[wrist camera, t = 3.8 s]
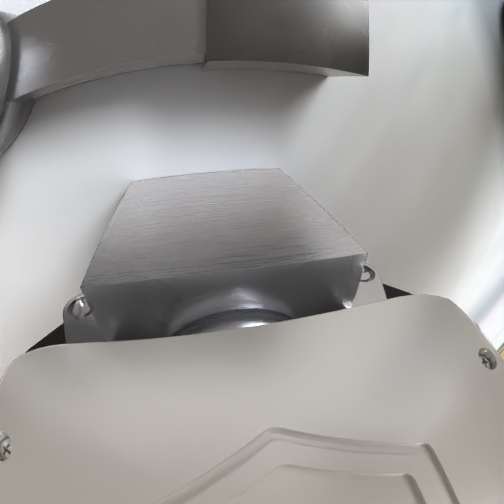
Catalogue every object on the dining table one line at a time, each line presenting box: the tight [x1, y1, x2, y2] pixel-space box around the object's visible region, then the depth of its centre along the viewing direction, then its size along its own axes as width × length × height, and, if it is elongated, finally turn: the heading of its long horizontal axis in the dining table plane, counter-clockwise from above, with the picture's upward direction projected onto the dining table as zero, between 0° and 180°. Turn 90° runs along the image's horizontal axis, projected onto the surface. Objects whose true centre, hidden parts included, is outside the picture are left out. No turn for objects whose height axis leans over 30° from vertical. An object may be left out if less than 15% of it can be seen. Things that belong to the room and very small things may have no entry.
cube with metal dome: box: [80, 169, 368, 342], centre depth 9 cm, size 6×6×8 cm
